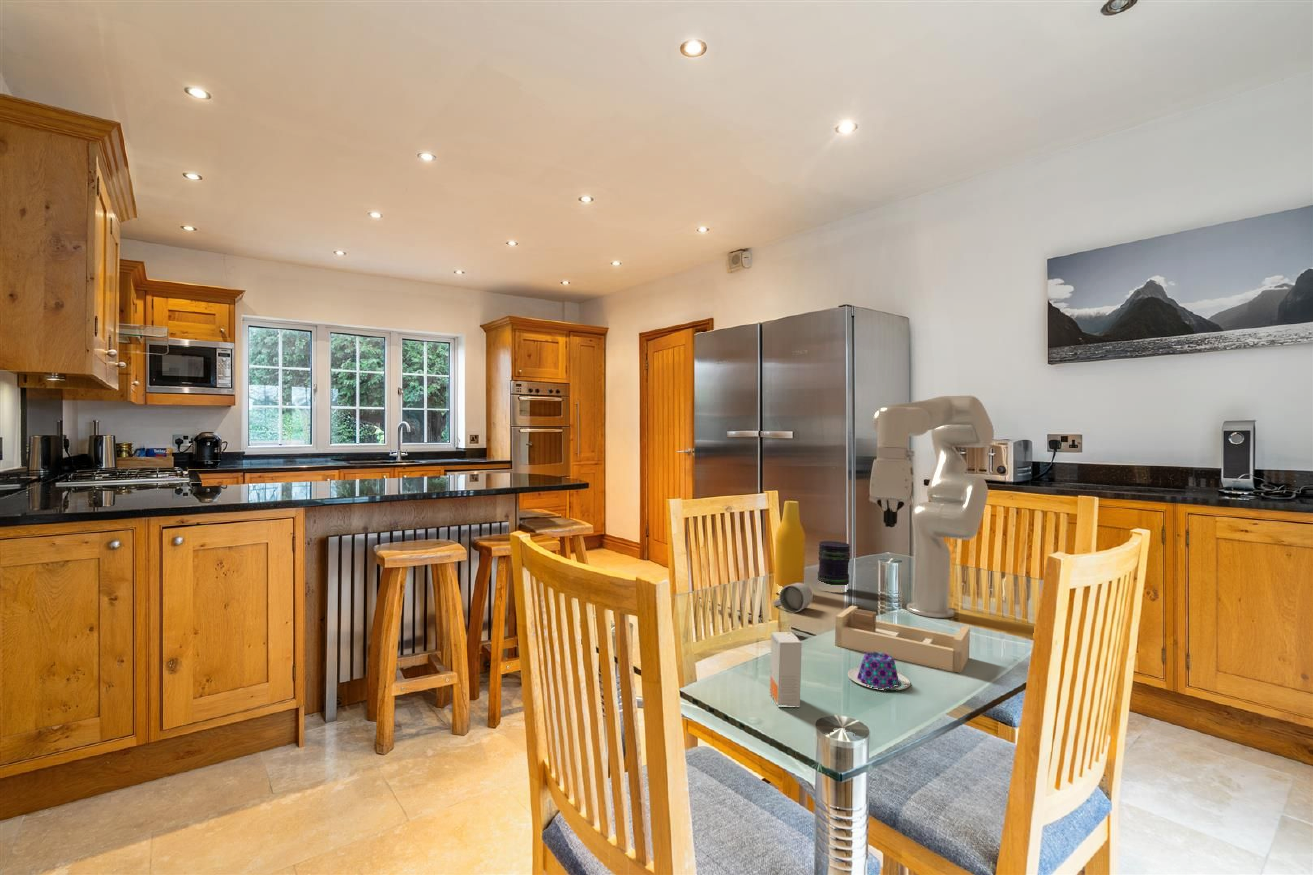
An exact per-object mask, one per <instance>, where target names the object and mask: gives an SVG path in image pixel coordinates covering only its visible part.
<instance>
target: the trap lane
mask: <svg viewBox="0 0 1313 875" xmlns="http://www.w3.org/2000/svg"><path fill="white" fill-rule="evenodd" d="M857 609H858V606H856V605H850V606H849V607H847V608H846V609H844V610H843V611H841V612H840V613H838V614H837V615H836V616H835V629H834V630H835V631H834V632H835V633H834V634H835V638H834V646H836V647H840V648H845V649H849V650H853V651H858V652H863V653H865V654H866V653H868V652H879V653H885V654H887V655H889V656H892V657H893V659H894V660H897V661H898V660H899V661H902V662H907V663H911V664H917V665H919V666H920V665H921V666H925V667H931V668H934V669H938V668H939V669H938V670H943V671H947V672H953V673H956V672H958V673H957V674H961V673H962V671H963V670H964V668H965V665H967V663H968V660H969V658H970V643H971V642H970V637H971V636H970V635H971V634H970V633H971V627H970V626H967V625H962V626H961V628H960V629H959V630H958V631H957V634H956V635H955V634H950V633H945V632H939V631H935V630H930V629H924V628H920V627H919V628H918V627H914V626H909V625H904V624H899V623H893V622H888V621H882V620H877V619H876V631H875V632H869V631H864V630H859V629H855V628H852V614H853V612H854V611H856V610H857Z"/></svg>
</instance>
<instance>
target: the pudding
mask: <svg viewBox="0 0 1313 875" xmlns="http://www.w3.org/2000/svg"><path fill="white" fill-rule="evenodd" d="M847 677H848V678H849V679H850V680H852V681H853V682H855V683H857V684H859V685H861V686H864V687H867V688H870V689H874V690H875V689H876V690H881V691H885V690H884V689H885V688H882V689H878V688H872V686H871V685H873V686H877V687H889V688H891V687H893V686H894V685H899V684H900V682H899V680H898V678H899V679H900V680H901V681H904V682H905V684H904V685H907V686H905V687H904V688H901V689H898V690H897V691H900V690H904V689H907V688H909V687H910V685H911V681H910V680H909V679H908V678H907V677H906V676H904V675H902V674H901V673H898V670H897V665H896V661H895V659H893V657H892V656H889V655H887V654H885V653H879V652H868V653H866V652H865V654H864V655H863V657H862V659H861V663H860V666H859V667H854V668H851V669H849V670H848V672H847ZM867 684H869V685H868V686H866V685H867ZM869 686H871V687H869ZM899 686H900V685H899ZM891 689H892V688H891Z"/></svg>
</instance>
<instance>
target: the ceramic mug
mask: <svg viewBox="0 0 1313 875" xmlns="http://www.w3.org/2000/svg"><path fill="white" fill-rule="evenodd" d="M813 596H814V595H813V592H812V589H811V588H810V587H809V586H808V585H807V584H806V583H804V584H803V583H795V584H791V585H787V586H785V587H784V588H783V589H782V590H781V592H780V594H779V595H778V599H776V600H772V603H773V605H774V607H778V606H781V607H782V608H783V609H784V610H785V611H787V613H792V614H795V613H799V612H801V611H803V610H804V609H806V608H808V607H809V606H810V605H811V603H812V602H813Z"/></svg>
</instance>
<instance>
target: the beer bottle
mask: <svg viewBox="0 0 1313 875" xmlns="http://www.w3.org/2000/svg"><path fill="white" fill-rule="evenodd" d="M783 504H784V505H783V513H782V519H781V522H780V523H779V525H778V528H777V530H776V533H775V534H776V535H775V547H774V548H775V549H774V550H775V551H774V552H775V554H774V555H775V556H774V579H773V581H774V582H775V583H776V584H778V585H779V586H782V587H783V588H784V587H785V586H787V585H791V584H795V583H803V584H805V562H806V560H805V559H806V533H805V530H804V527H803V526H802V523H801V519H800V506H799V501H797V500H795V501H794V500H785V501H784V503H783ZM774 582H773V583H774Z"/></svg>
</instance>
